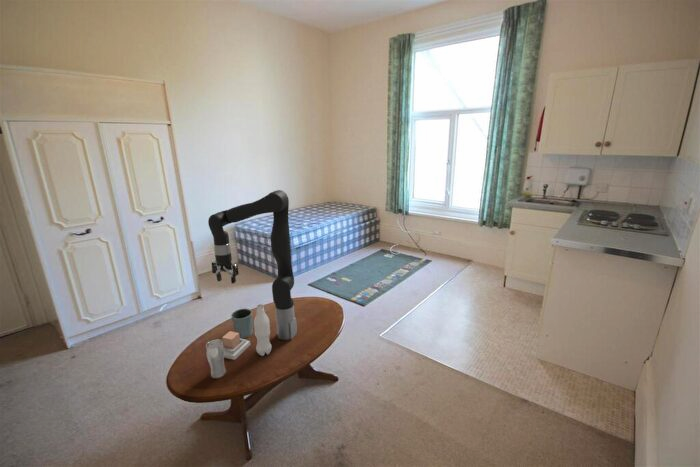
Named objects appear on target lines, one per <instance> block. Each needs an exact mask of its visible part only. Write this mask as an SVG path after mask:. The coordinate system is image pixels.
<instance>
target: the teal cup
mask: <svg viewBox="0 0 700 467" xmlns="http://www.w3.org/2000/svg"><path fill="white" fill-rule="evenodd" d="M230 315H231V316H230V317H231V320H232V324H233V329H234V332H236V333H239V335H240V338H241V339H246V338H248V337H251V336H252V334H253V332H254V331H253V329H254V325H253V312H252V310H251V309H249V308H239V309H236V310H234V311H233V312H232V313H231V314H230Z"/></svg>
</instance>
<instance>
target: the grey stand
mask: <svg viewBox="0 0 700 467" xmlns="http://www.w3.org/2000/svg"><path fill="white" fill-rule="evenodd" d="M250 346H251V341H250V340H247V339H246V338H240V344H239V345H237V346H236V347H235V348H234V349H229V348H225V347H224V359H229V360H234V361H235V360H236V359H237V358H239V356H241V354H242V353H244V351H246V350H247V349H248V348H249V347H250Z"/></svg>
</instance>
